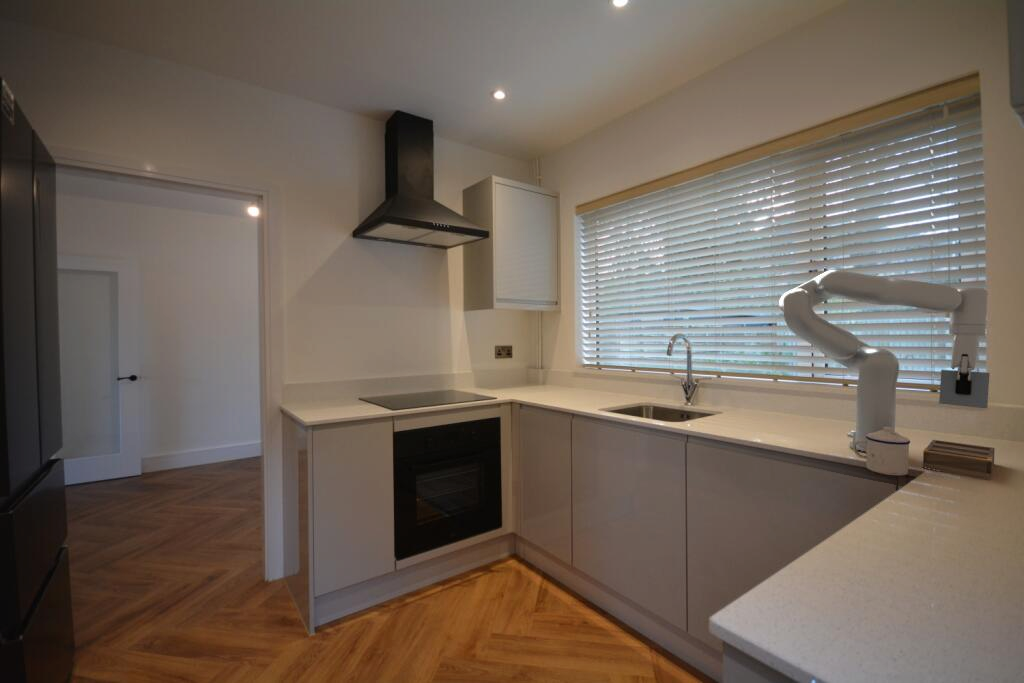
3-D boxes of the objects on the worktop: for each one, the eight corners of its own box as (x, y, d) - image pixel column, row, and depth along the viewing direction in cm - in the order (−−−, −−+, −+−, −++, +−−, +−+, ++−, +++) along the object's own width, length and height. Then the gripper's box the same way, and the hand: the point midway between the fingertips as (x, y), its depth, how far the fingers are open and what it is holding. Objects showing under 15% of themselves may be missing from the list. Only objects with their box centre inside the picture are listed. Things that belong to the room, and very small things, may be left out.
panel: (987, 408, 131) (989, 373, 131) (939, 403, 138) (941, 370, 138) (987, 407, 133) (989, 372, 132) (939, 402, 140) (941, 369, 139)
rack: (990, 479, 116) (991, 460, 116) (923, 468, 125) (923, 450, 125) (994, 463, 130) (994, 446, 129) (932, 454, 139) (932, 438, 139)
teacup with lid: (910, 470, 123) (911, 427, 123) (907, 478, 117) (909, 432, 117) (855, 461, 132) (856, 420, 131) (849, 468, 125) (850, 425, 125)
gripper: (950, 330, 143) (946, 390, 144) (947, 330, 131) (944, 395, 132) (985, 331, 137) (981, 392, 138) (985, 331, 126) (981, 398, 127)
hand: (963, 393), depth 135 cm, fingers closed on panel, 2 cm apart
